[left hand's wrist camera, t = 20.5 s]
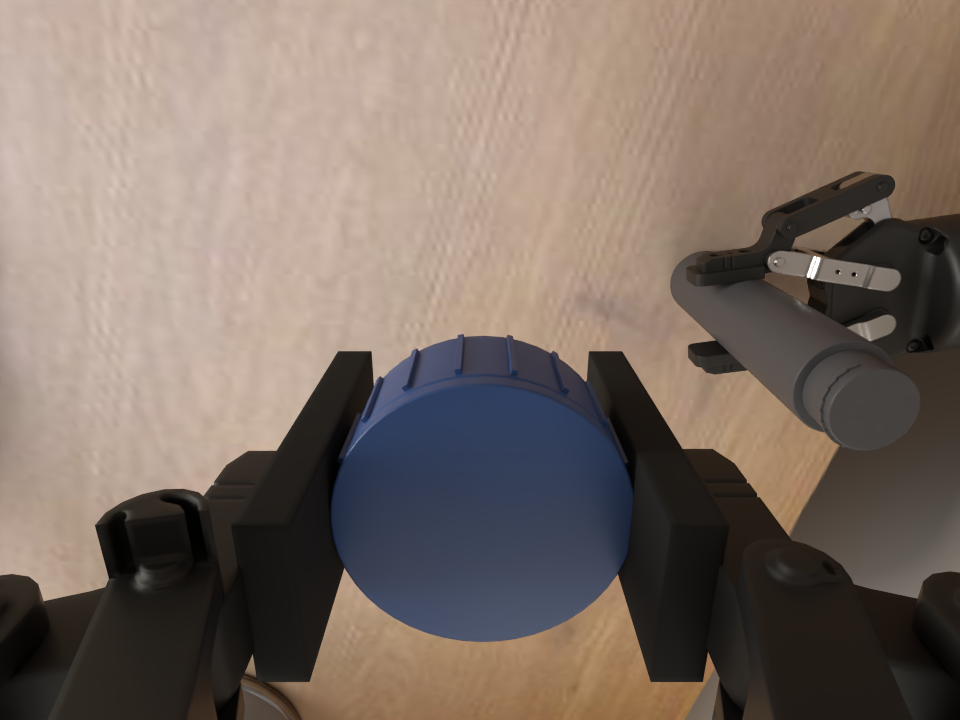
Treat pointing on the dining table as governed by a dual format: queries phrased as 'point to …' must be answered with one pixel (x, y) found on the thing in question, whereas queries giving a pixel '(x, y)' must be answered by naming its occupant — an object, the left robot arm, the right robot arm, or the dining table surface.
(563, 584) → the lid
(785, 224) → the right robot arm
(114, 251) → the dining table surface
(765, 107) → the dining table surface
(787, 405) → the jar
